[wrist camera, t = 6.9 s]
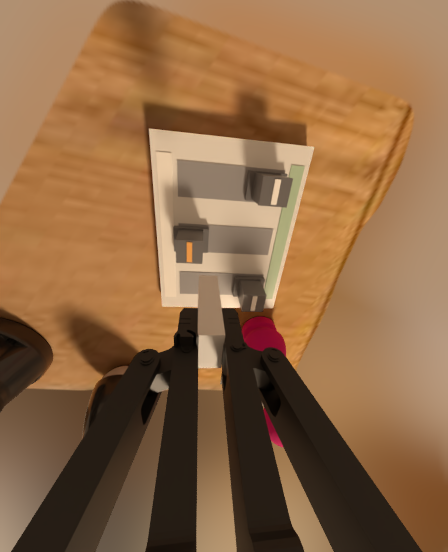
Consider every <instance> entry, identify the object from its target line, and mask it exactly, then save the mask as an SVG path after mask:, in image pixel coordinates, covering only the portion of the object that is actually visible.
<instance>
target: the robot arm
mask: <svg viewBox="0 0 448 552" xmlns="http://www.w3.org/2000/svg"><path fill="white" fill-rule="evenodd" d="M52 361H53V353H52V350H51V348H50V346H49V345H48V343H47V342H46V341H45V340H44V339H43V338H42V337H41V336H40V335H39V334H37V333H36V332H34V331H33V330H31V329H29V328H28V327H26V326H24V325H21V324H19V323H16V322H14V321H10V320H7V319H3V318H0V412H1V411H2V409H3V408H4V407H5V406H6V405H7V404H8V403H9V402H10V401H12V400H13V399H14V398H15V397H17V396H18V395H19V394H20V393H21V392H22V391H23V390H25V389H26V388H27V387H28V386H29V385H31V384H33V383H34V382H36V381H37V380H39V379H40V378H41V377H42V376H43V375H44V373H45V372H46V371H47V369H48V368H49V366H50V365H51V363H52ZM221 364H222V376H221V383H220V384H222V388H223V399H224V410H225V421H226V433H227V444H228V455H229V465H230V477H231V489H232V500H233V511H234V522H235V533H236V545H237V552H304V550H303V546H302V544H301V541H300V539H299V537H298V535H297V533H296V532H295V530H294V529H293V527H292V524H291V521H290V517H289V513H288V509H287V505H286V501H285V497H284V493H283V489H282V484H281V481H280V477H279V472H278V468H277V464H276V460H275V456H274V452H273V448H272V443H271V439H270V435H269V431H268V427H267V423H266V418H265V414H264V410H263V406H262V403H263V405H264V408H265V410H266V412H267V414H268V416H269V418H270V420H271V422H272V424H273V426H274V428H275V430H276V432H277V435H278V437H279V439H280V441H281V443H282V445H283V447H284V449H285V451H286V453H287V455H288V457H289V459H290V462H291V463H292V466H293V468H294V470H295V472H296V474H297V476H298V478H299V480H300V482H301V484H302V487H303V489H304V491H305V493H306V495H307V497H308V499H309V501H310V503H311V505H312V507H313V509H314V512H315V514H316V515H317V518H318V520H319V522H320V524H321V526H322V528H323V530H324V532H325V534H326V536H327V538H328V540H329V543H330V545H331V547H332V549H333V551H334V552H422V551H421V549H420V548H419V546H418V545H417V544H416V542H415V541H414V539H413V538H412V536H411V535H410V533H409V532H408V531H407V530H406V528H405V526H404V525H403V523H402V522H401V521H400V519H399V518H398V516H397V515H396V514H395V512H394V511H393V509H392V508H391V506H390V505H389V503H388V502H387V501H386V499H385V498H384V496H383V495H382V494H381V492H380V491H379V489H378V488H377V487H376V485H375V484H374V482H373V481H372V479H371V478H370V476H369V475H368V474H367V472H366V471H365V469H364V468H363V466H362V465H361V464H360V462H359V461H358V459H357V458H356V457H355V455H354V454H353V452H352V451H351V449H350V448H349V447H348V445H347V444H346V442H345V441H344V440H343V438H342V437H341V435H340V434H339V433H338V431H337V429H336V428H335V427H334V425H333V424H332V422H331V421H330V420H329V418H328V417H327V415H326V414H325V412H324V411H323V409H322V408H321V407H320V405H319V404H318V402H317V401H316V400H315V398H314V396H313V395H312V394H311V392H310V391H309V390H308V388H307V386H306V385H305V384H304V382H303V381H302V380H301V378H300V376H299V375H298V374H297V372H296V371H295V369H294V368H293V367H292V365H291V364H290V362H289V361H288V359H287V358H286V357H285V355H284V354H283V353H282V352H281V351H280V350H278V349H277V348H273V347H268V348H265V349H264V350H263V351H259V350H255V349H253V348H251V347H249V346H248V345H247V343H246V342H244V339H243V335H242V330H241V326H240V322H239V317H238V313H237V312H236V311H235V309H234V308H222V307H221V299H220V292H219V285H218V277H217V276H208V275H199V286H198V308H184V309H183V310H182V311H181V312H180V318H179V325H178V331H177V332H176V333H175V335H174V346H173V347H172V348H170V349H169V350H166V351H163V352H160V353H158V352H157V351H156V350H153V349H146V350H142V351H141V352H139V353H138V354H137V355H136V356H135V357H134V359H133V360H132V362H131V363H130V365H129V366H128V368H127V370H126V371H125V373H124V374H123V376H122V377H121V379H120V381H119V382H118V384H117V385H116V387H115V389H114V390H113V392H112V393H111V395H110V396H109V398H108V400H107V401H106V403H105V404H104V406H103V408H102V409H101V411H100V412H99V414H98V415H97V417H96V419H95V420H94V422H93V423H92V425H91V426H90V428H89V430H88V431H87V433H86V434H85V436H84V438H83V439H82V441H81V442H80V444H79V445H78V447H77V449H76V450H75V452H74V453H73V455H72V456H71V458H70V460H69V461H68V463H67V465H66V466H65V468H64V469H63V471H62V472H61V474H60V475H59V477H58V479H57V480H56V482H55V483H54V485H53V487H52V488H51V490H50V491H49V493H48V495H47V496H46V498H45V499H44V501H43V502H42V504H41V505H40V507H39V509H38V510H37V512H36V513H35V515H34V517H33V518H32V520H31V522H30V523H29V525H28V526H27V528H26V529H25V531H24V532H23V534H22V536H21V537H20V539H19V540H18V542H17V543H16V545H15V547H14V548H13V550H12V551H11V552H95V551H96V549H97V546H98V544H99V541H100V539H101V537H102V534H103V532H104V529H105V527H106V525H107V522H108V520H109V517H110V515H111V513H112V510H113V508H114V505H115V503H116V500H117V498H118V496H119V493H120V491H121V489H122V486H123V484H124V481H125V479H126V477H127V474H128V472H129V469H130V467H131V465H132V462H133V460H134V457H135V455H136V453H137V450H138V448H139V446H140V443H141V441H142V438H143V436H144V434H145V431H146V429H147V426H148V424H149V422H150V419H151V417H152V414H153V412H154V410H155V407H156V405H157V402H158V400H159V398H160V395H161V393H162V391H164V390H167V389H169V390H168V397H167V405H166V412H165V419H164V426H163V434H162V441H161V448H160V456H159V463H158V470H157V478H156V485H155V492H154V500H153V508H152V514H151V522H150V529H149V536H148V542H147V547H146V551H145V552H196V506H197V505H196V504H197V420H198V418H197V417H198V414H197V413H198V368H221ZM261 401H262V402H261Z"/></svg>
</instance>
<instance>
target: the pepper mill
mask: <svg viewBox="0 0 448 552" xmlns="http://www.w3.org/2000/svg"><path fill="white" fill-rule="evenodd" d="M242 335H243V339H244V342H246V343H247V345H248V346H249V347H251V348H253V349H255V350H259V351H263V350H264V349H265V348H268V347H273V348H277V349H278V350H280V351H281V352H282V353H283V354H284V355H285V357H286V346H285V342H284V339H283V337H282V336H281V334H280V333H278V332H277V330H276V328H275V325H274V323H273V321H272V320H271V319H269V318H267V317H263V316H260V317H254V318H251V319H249V320H248V321H247V322H246V323H245V324H244V325H243V327H242ZM262 405H263V403H262ZM263 406H264V405H263ZM264 414H265V418H266V423H267V427H268V431H269V435H270V439H271V441H272V442H273V443H275V444H276V445H278V446H280V447H283V445H282V443H281V441H280V439H279V437H278V435H277V432H276V430H275V428H274V426H273V424H272V422H271V420H270V418H269V416H268V414H267V412H266V410H265V408H264Z"/></svg>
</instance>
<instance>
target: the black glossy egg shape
mask: <svg viewBox="0 0 448 552" xmlns="http://www.w3.org/2000/svg"><path fill="white" fill-rule="evenodd" d="M127 368H128V366H121V367H117V368H115V369H113V370H111V371H109V372H108V373H107V374H106V375H105V376H104V377H103V378H102V379H101V380H100V381H98V382H97V384H96V385H95V387H94V389H93V392H92V395H91V398H90V401H89V404H88V407H87V412H86V416H85V421H84V428H83V435H82V439H83V438H84V436H85V434H86V433H87V431H88V430H89V428H90V426H91V425H92V423H93V422H94V420H95V419H96V417H97V415H98V414H99V412H100V411H101V409H102V408H103V406H104V404H105V403H106V401H107V400H108V398H109V396H110V395H111V393H112V392H113V390H114V389H115V387H116V385H117V384H118V382H119V381H120V379H121V377H122V376H123V374H124V373H125V371H126V370H127Z"/></svg>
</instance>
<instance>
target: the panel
mask: <svg viewBox="0 0 448 552" xmlns="http://www.w3.org/2000/svg"><path fill="white" fill-rule="evenodd" d="M149 137H150V150H151V164H152V177H153V190H154V204H155V217H156V231H157V244H158V257H159V271H160V284H161V297H162V307H198V286H199V275H208V276H217V277H218V285H219V292H220V299H221V307H222V308H240V303H239V299H238V297H233V294H232V292H233V285H234V277H235V276H254V277H264V279H265V282H264V286H263V288H264V290H265V293H266V295H267V296H266V300H265V304H264V308H273V306H274V303H275V299H276V295H277V291H278V287H279V283H280V279H281V275H282V271H283V267H284V264H285V260H286V256H287V252H288V248H289V244H290V240H291V236H292V232H293V229H294V225H295V221H296V217H297V213H298V209H299V205H300V201H301V197H302V193H303V190H304V186H305V182H306V178H307V174H308V170H309V166H310V162H311V158H312V154H313V151H314V147H311V146H302V145H293V144H284V143H275V142H266V141H257V140H248V139H239V138H230V137H221V136H212V135H203V134H194V133H185V132H176V131H167V130H158V129H149ZM248 170H255V171H265V172H276V173H286V174H287V177H290V178H293V182H292V186H291V191H290V195H289V199H288V204H287V208H285V207H271V206H259V205H258V204H257V203H255V202H254V201H247V200H245V192H246V184H247V176H248ZM174 226H190V227H207V228H209V240H208V253H203V261H202V264H191V263H176V252H175V251H174V236H173V227H174Z"/></svg>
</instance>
